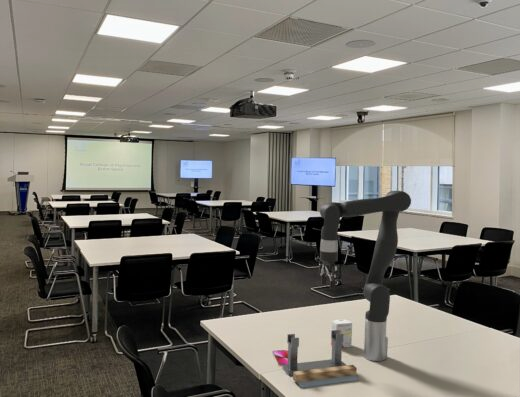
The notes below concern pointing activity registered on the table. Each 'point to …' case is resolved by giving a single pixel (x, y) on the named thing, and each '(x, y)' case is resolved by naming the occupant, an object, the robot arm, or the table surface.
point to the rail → (324, 373)
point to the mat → (327, 381)
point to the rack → (294, 366)
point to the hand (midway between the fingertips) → (327, 286)
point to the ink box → (343, 331)
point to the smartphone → (281, 357)
